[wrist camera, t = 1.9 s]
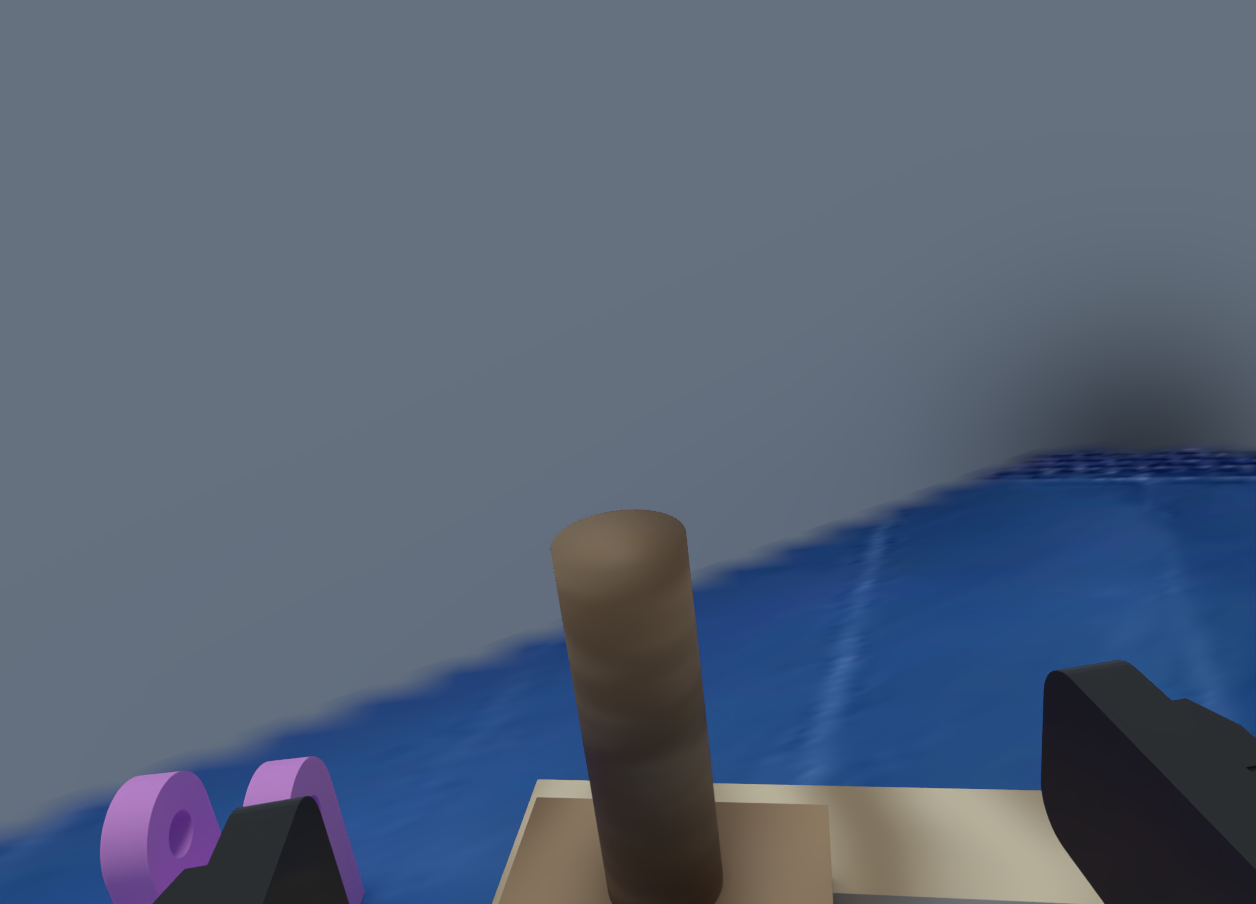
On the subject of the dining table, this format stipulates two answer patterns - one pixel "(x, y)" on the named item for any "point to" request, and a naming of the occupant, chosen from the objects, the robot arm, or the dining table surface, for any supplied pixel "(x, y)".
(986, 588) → the dining table surface
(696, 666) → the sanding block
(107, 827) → the bracket
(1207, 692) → the dining table surface
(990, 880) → the pine board
